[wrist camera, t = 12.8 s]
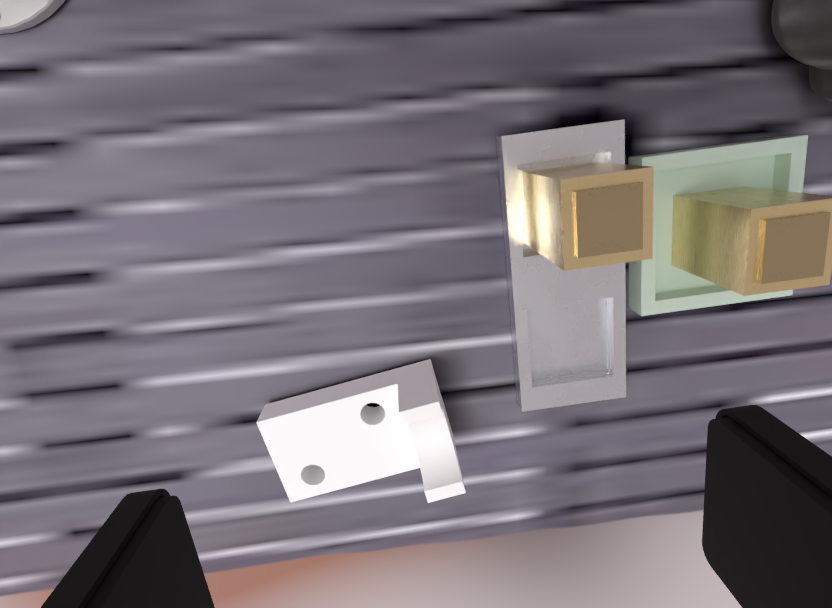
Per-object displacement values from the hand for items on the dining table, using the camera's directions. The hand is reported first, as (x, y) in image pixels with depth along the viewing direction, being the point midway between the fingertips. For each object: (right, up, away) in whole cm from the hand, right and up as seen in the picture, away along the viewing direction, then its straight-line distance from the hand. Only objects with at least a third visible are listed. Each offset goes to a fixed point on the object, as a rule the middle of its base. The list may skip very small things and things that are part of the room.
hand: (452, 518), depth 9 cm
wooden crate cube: (+20, +9, +27) cm, 35 cm away
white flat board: (+10, +6, +28) cm, 31 cm away
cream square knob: (+9, +11, +26) cm, 30 cm away
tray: (+20, +9, +28) cm, 36 cm away
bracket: (-5, -5, +31) cm, 32 cm away
